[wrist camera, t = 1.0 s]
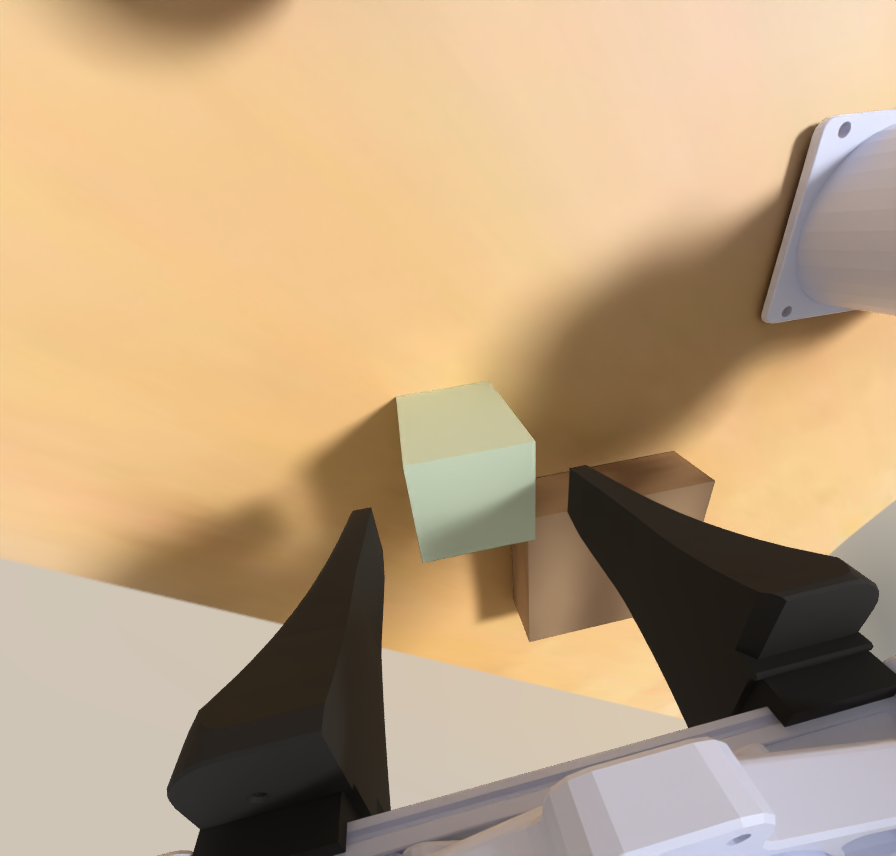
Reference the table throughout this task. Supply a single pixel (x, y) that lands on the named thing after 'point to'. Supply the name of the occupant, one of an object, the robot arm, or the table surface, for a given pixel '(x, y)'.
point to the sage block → (466, 470)
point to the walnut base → (570, 561)
